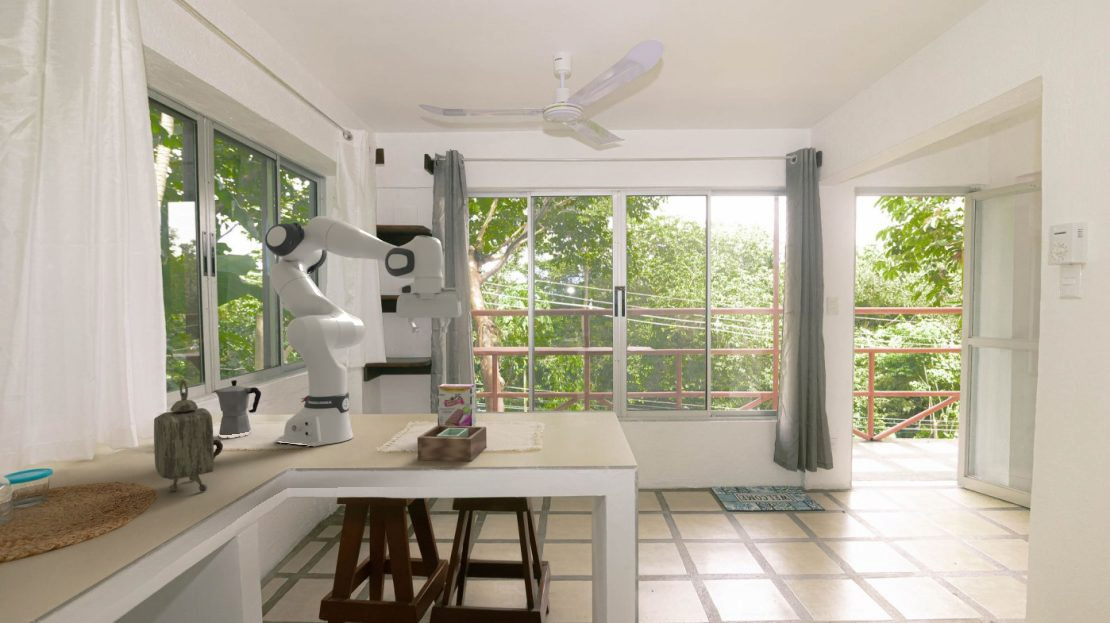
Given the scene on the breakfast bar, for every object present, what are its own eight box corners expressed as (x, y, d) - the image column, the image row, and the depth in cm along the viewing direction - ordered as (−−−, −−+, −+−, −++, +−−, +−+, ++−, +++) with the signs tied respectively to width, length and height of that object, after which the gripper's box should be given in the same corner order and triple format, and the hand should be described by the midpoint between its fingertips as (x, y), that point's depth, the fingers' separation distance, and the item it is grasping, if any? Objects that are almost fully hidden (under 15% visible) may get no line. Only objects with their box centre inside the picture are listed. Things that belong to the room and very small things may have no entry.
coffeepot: (205, 439, 168) (204, 382, 168) (225, 431, 177) (223, 378, 177) (252, 439, 167) (251, 382, 167) (270, 431, 177) (268, 378, 176)
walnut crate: (417, 459, 143) (417, 437, 143) (437, 445, 157) (437, 425, 157) (471, 461, 140) (470, 439, 140) (486, 447, 154) (486, 426, 154)
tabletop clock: (214, 491, 120) (212, 381, 119) (165, 502, 113) (162, 386, 113) (200, 477, 130) (198, 375, 130) (154, 486, 124) (152, 379, 123)
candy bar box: (437, 438, 165) (436, 386, 165) (442, 434, 170) (441, 383, 170) (472, 439, 164) (471, 386, 164) (476, 435, 169) (475, 383, 169)
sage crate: (436, 453, 144) (436, 435, 144) (448, 445, 153) (448, 427, 153) (457, 454, 143) (457, 436, 143) (468, 445, 152) (468, 428, 152)
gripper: (464, 287, 165) (465, 331, 165) (402, 288, 168) (403, 332, 169) (457, 287, 159) (458, 333, 159) (393, 288, 162) (394, 333, 162)
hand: (429, 332), depth 164 cm, fingers open, 8 cm apart
